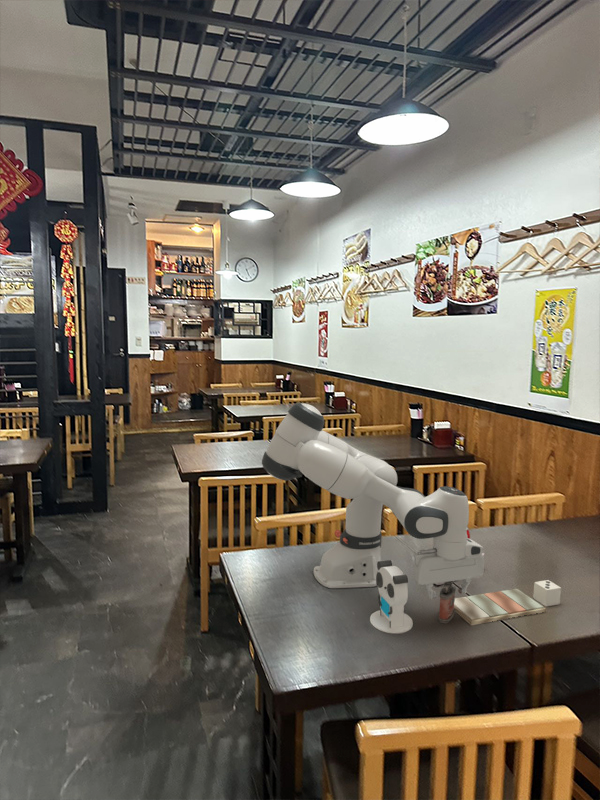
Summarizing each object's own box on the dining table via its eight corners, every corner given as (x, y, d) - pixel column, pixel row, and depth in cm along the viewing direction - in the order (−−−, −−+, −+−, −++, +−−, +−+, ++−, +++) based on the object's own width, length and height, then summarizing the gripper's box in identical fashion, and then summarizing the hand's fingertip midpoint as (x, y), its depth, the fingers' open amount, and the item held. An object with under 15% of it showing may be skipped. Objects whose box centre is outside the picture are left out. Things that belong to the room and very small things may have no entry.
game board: (471, 625, 142) (471, 620, 142) (445, 603, 154) (446, 598, 154) (545, 612, 150) (546, 607, 150) (516, 591, 161) (516, 587, 161)
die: (545, 606, 153) (547, 589, 152) (533, 598, 158) (534, 581, 157) (559, 604, 154) (561, 587, 154) (546, 595, 159) (548, 579, 158)
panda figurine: (362, 612, 148) (364, 560, 146) (399, 607, 151) (402, 556, 149) (380, 636, 137) (382, 580, 135) (420, 630, 140) (423, 575, 138)
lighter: (448, 624, 143) (450, 589, 141) (435, 620, 144) (437, 585, 143) (456, 611, 149) (458, 577, 148) (444, 607, 151) (446, 574, 150)
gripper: (421, 555, 138) (419, 605, 140) (488, 547, 144) (485, 595, 146) (409, 546, 144) (407, 594, 146) (474, 538, 150) (471, 585, 152)
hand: (447, 595), depth 146 cm, fingers open, 8 cm apart
